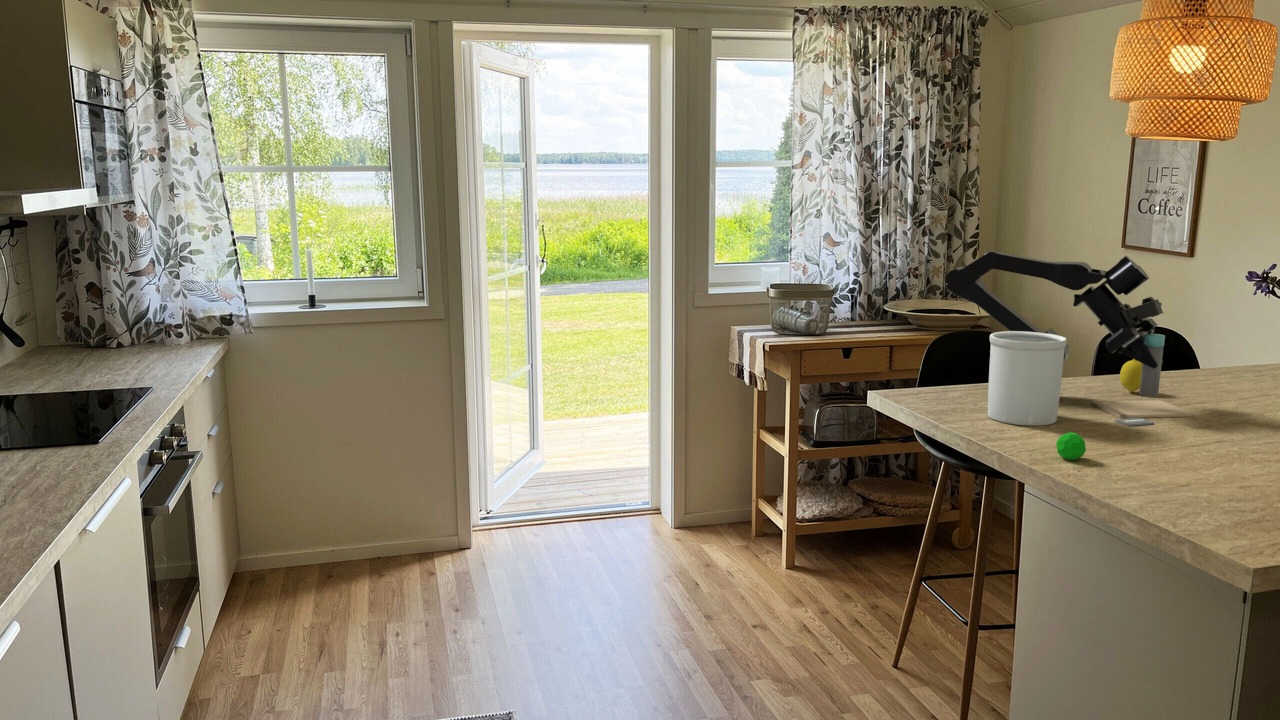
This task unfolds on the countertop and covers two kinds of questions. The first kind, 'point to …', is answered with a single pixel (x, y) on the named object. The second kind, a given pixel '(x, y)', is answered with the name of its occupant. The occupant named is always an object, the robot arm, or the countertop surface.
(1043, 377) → the utensil holder
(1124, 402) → the notepad
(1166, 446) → the countertop surface
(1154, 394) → the marker
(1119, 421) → the word tile
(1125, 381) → the lemon
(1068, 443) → the polyhedron
